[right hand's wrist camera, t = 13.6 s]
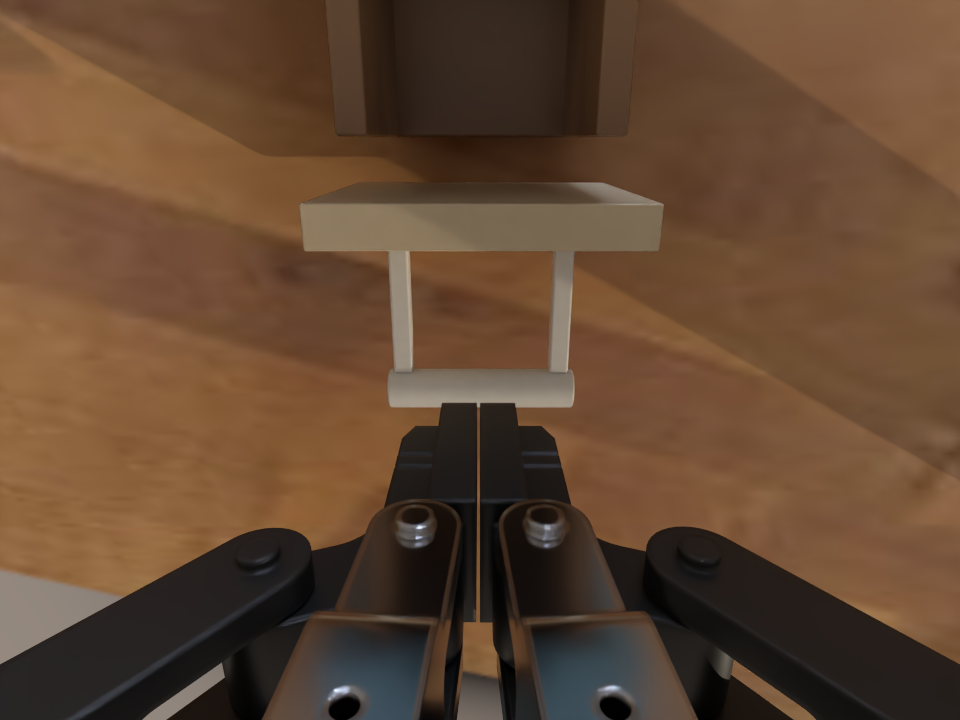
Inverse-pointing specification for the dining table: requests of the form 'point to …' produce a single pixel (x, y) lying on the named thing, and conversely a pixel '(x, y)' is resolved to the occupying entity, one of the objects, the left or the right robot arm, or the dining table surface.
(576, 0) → the drawer
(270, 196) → the dining table surface
